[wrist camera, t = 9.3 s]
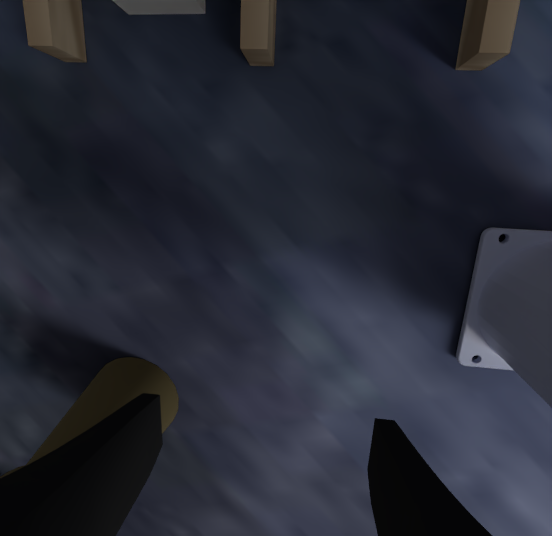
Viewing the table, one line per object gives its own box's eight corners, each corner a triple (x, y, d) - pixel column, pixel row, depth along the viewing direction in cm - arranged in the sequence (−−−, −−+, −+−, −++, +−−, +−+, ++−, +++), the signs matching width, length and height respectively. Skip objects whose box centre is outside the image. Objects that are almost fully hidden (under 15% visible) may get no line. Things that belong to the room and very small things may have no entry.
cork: (79, 370, 24) (-109, 527, 13) (155, 346, 23) (16, 499, 12) (118, 441, 25) (-26, 637, 14) (192, 422, 24) (96, 621, 13)
